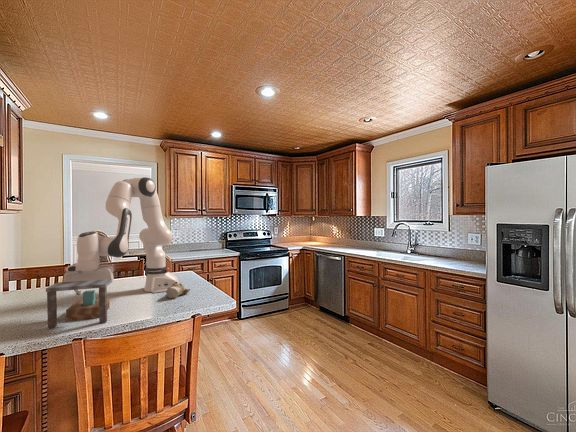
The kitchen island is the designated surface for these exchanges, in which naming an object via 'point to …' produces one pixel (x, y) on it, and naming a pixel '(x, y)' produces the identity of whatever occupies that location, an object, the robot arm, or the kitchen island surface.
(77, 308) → the grey miniature side table
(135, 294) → the kitchen island surface
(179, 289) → the ceramic sculpture
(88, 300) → the peg
